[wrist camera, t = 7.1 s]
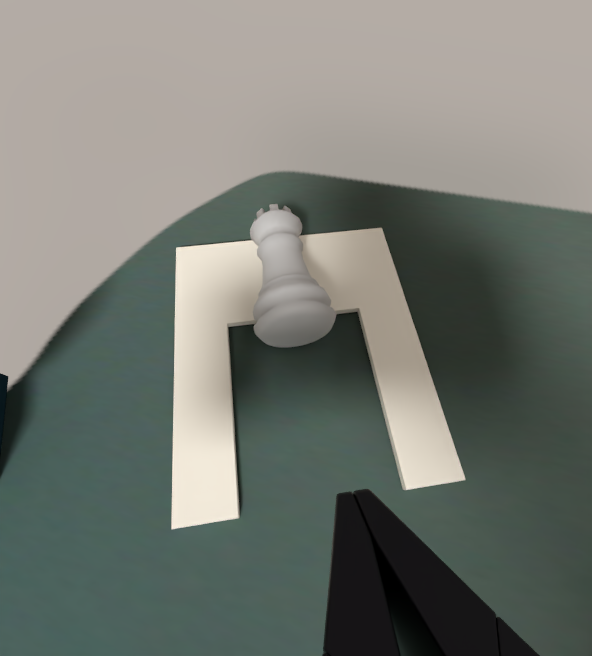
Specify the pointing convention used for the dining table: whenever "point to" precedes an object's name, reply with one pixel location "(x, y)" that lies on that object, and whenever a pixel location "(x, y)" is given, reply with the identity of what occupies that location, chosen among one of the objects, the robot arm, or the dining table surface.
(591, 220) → the dining table surface
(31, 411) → the dining table surface
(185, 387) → the cream u-shaped flat bracket
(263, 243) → the rook chess piece
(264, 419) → the dining table surface
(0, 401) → the watch
